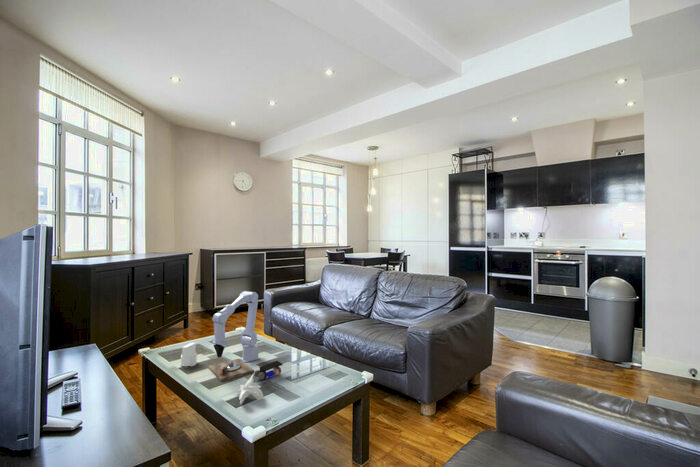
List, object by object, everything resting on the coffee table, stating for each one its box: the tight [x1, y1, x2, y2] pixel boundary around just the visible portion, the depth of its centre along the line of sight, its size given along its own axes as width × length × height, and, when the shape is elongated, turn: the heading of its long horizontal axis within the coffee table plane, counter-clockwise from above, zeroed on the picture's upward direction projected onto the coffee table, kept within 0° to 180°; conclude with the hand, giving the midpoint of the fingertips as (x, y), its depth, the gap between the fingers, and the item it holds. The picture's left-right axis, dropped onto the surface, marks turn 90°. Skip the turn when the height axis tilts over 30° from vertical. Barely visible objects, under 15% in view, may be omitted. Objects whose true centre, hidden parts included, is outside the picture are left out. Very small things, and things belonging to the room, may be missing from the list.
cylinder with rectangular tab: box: [180, 342, 198, 367], centre depth 203 cm, size 9×9×12 cm
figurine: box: [235, 371, 265, 405], centre depth 160 cm, size 14×11×13 cm
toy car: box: [253, 360, 283, 383], centre depth 183 cm, size 7×8×15 cm
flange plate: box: [220, 362, 240, 375], centre depth 191 cm, size 16×11×3 cm
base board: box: [207, 358, 255, 382], centre depth 194 cm, size 19×23×5 cm
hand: (219, 356), depth 190 cm, fingers closed
